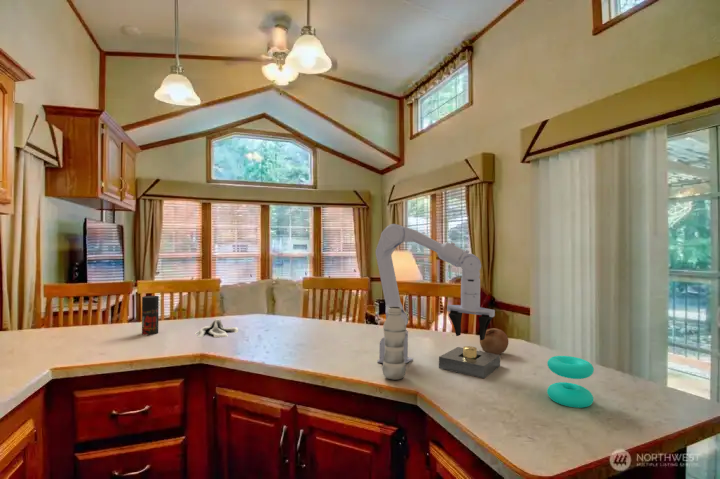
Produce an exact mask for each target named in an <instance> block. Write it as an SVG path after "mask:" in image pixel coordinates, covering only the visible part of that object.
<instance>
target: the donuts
mask: <svg viewBox="0 0 720 479" xmlns="http://www.w3.org/2000/svg"><path fill="white" fill-rule="evenodd" d="M546 363H547V364H546V365H547V367H548V369H549V370H550V371H551V373H553V374H555V375H557V376H560V377H563V378H567V379H570V380H571V379H572V380H584V379H588V378H590V377H591V376H592V375H593V374H594V370H595V369H594V366H593V364H592V363H591V362H590V361H588V360H586V359H584V358H581V357H576V356H569V355H556V356H555V355H554V356H551V357H550V358H549V359H548V360H547V362H546ZM546 393H547V396H548V398H550V400H551V401H553V402H555V403H557V404H558V405H561V406H563V407H569V408H570V407H571V408H577V409H578V408H579V409H580V408H582V409H583V408H587V407H590V406H591V405H592V404H593V403H594V396H593V394H592V392H591V391H590V390H589V389H587V388H585V387H584V386H583V385H579V384H577V383H573V382H567V381H566V382H565V381H562V382H561V381H558V382H554V383H552V384H550V385H548V387H547V390H546Z"/></svg>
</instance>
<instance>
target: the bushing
mask: <svg viewBox="0 0 720 479" xmlns="http://www.w3.org/2000/svg"><path fill="white" fill-rule="evenodd" d="M462 348H463V357H464V358H469V359H474V360H476V359H477V351H478V349H477V347H476V346H471V345H465V346H463V347H462Z"/></svg>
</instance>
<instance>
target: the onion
mask: <svg viewBox="0 0 720 479" xmlns="http://www.w3.org/2000/svg"><path fill="white" fill-rule="evenodd" d="M479 345H480V347H481V349H482V352H488V353H493V354H498V355H501V354H502V353H504V352H505V351H506V350H507V349H508V346H509V338H508V335H507V334H506V332H505V331H503V330H502V329H500V328H497V327H496V328H494V327H493V328H487V330H486V334H485V339H483V340H480V339H479Z"/></svg>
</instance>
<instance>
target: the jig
mask: <svg viewBox="0 0 720 479" xmlns="http://www.w3.org/2000/svg"><path fill="white" fill-rule="evenodd" d="M500 366H501V354H493V353H488V352H485V351H483V350H482V351H481V350H477V359H476V360H474V359H469V358H464V357H463V347H461V346H458V347H455V348H453V349H451V350H450V351H449V350H448V352H445V353H443V354H442V355H440V356H438V369H441V370H445V371H450V372H455V373H458V374H463V375H466V376H472V377H477V378H479V379H480V378H481V379H485V378H487V377H488V376H489V375H491V373H493V372H494V371H496V370H497V369H498V368H500Z"/></svg>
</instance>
